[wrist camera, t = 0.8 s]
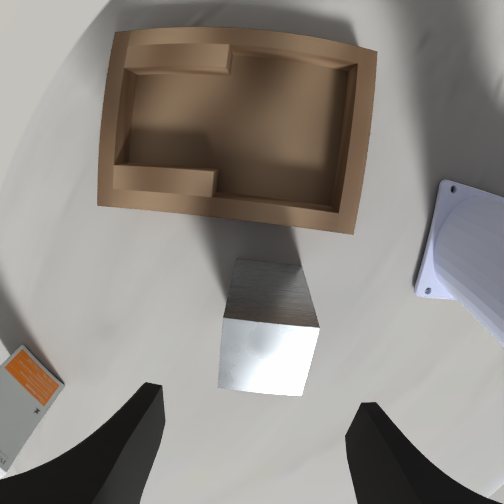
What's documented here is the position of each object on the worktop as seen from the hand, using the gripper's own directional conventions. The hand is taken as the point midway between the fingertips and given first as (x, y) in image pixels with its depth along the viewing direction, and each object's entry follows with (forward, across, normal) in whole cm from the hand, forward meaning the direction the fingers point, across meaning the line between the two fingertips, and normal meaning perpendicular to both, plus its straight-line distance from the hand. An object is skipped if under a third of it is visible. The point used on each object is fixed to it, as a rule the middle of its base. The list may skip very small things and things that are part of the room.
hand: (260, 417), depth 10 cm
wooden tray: (+10, +3, -10) cm, 15 cm away
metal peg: (+10, 0, 0) cm, 10 cm away
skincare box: (+11, +20, +12) cm, 26 cm away
